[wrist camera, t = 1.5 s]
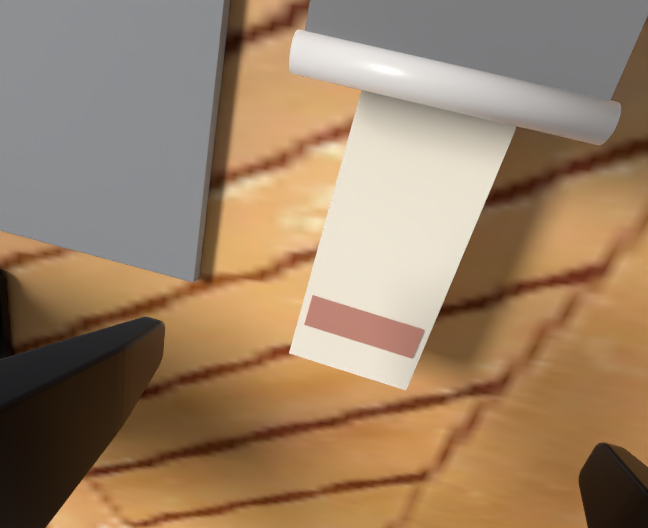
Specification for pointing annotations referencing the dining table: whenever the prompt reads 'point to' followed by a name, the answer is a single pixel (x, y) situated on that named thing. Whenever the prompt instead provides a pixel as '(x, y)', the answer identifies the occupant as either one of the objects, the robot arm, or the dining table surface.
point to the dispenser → (480, 57)
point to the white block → (395, 234)
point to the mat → (111, 126)
